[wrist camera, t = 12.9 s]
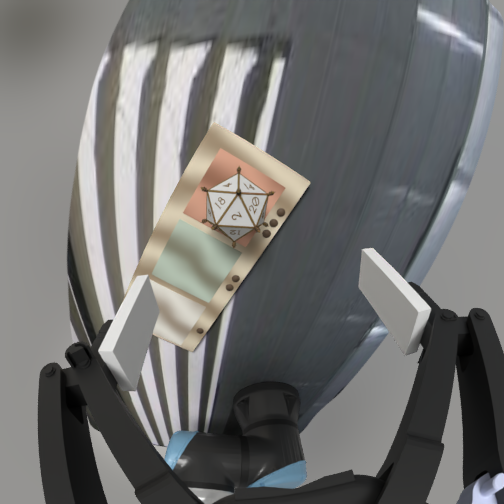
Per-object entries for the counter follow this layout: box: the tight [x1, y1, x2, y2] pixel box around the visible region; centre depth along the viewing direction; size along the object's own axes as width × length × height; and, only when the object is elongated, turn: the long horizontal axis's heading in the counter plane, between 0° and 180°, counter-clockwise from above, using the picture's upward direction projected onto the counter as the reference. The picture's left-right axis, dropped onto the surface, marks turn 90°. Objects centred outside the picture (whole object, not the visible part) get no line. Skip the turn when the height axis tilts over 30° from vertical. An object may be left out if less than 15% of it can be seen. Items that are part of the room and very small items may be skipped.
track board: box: [122, 122, 311, 352], centre depth 40 cm, size 35×15×1 cm, turn 148°
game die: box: [201, 166, 275, 248], centre depth 33 cm, size 9×8×10 cm
